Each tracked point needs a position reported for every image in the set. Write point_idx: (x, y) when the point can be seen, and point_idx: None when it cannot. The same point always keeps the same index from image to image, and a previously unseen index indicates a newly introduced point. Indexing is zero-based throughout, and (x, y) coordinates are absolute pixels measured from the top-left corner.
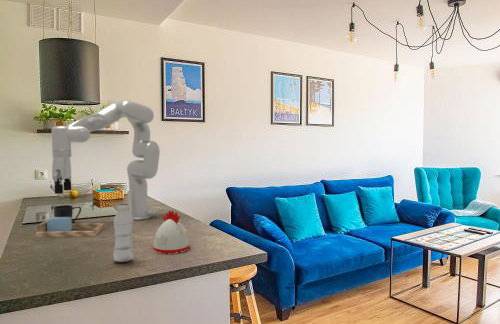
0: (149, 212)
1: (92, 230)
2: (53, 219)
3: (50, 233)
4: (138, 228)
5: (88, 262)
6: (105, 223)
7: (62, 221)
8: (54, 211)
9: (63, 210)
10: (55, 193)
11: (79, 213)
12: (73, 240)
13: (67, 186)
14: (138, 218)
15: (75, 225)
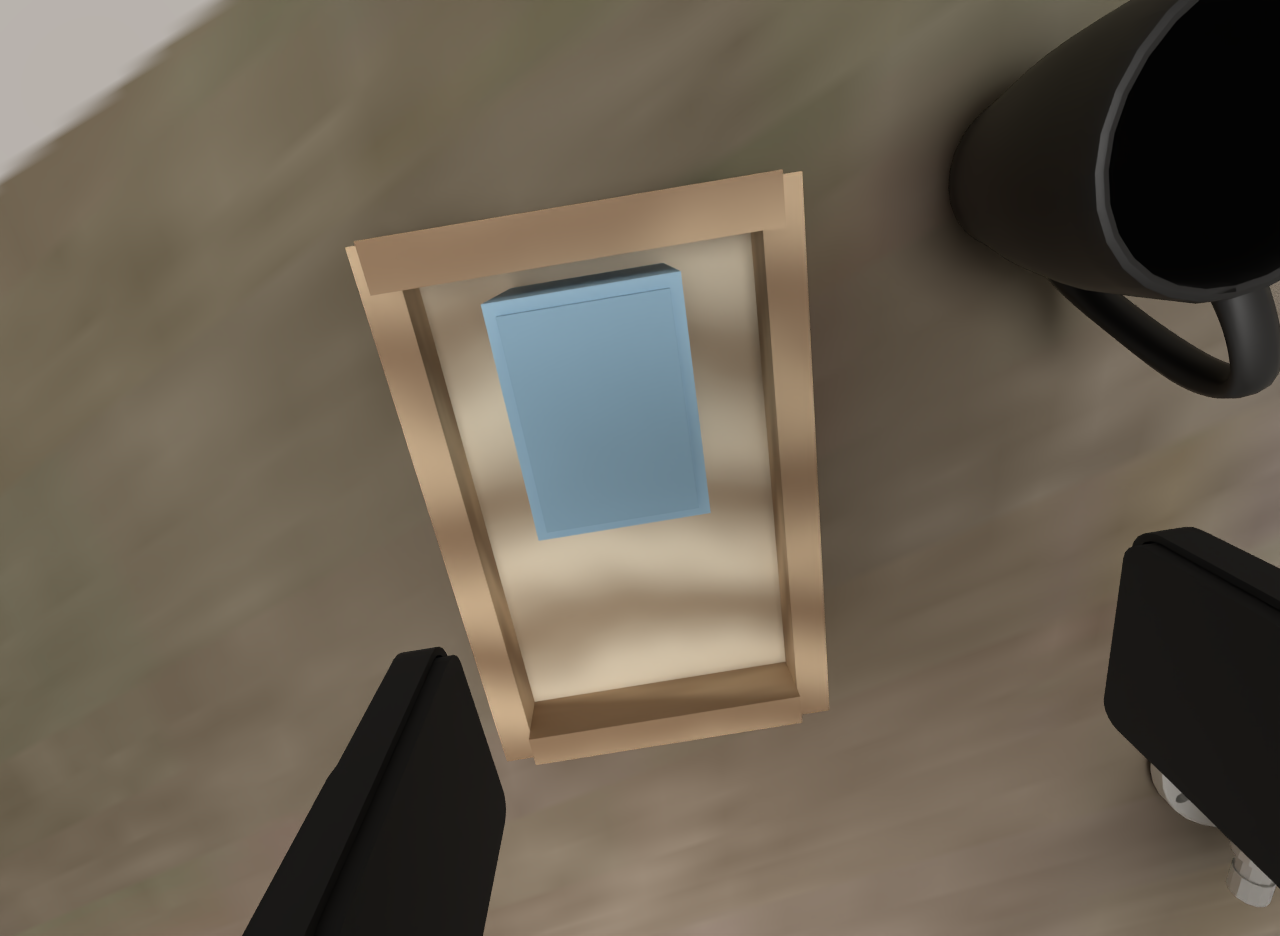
0: (1250, 864)
1: (530, 734)
2: (513, 386)
3: (400, 403)
4: (842, 853)
5: (21, 894)
6: (820, 710)
7: (529, 493)
8: (1104, 35)
9: (1065, 226)
10: (409, 658)
11: (1152, 367)
12: (433, 594)
13: (1222, 737)
14: (1159, 777)
15: (777, 461)
